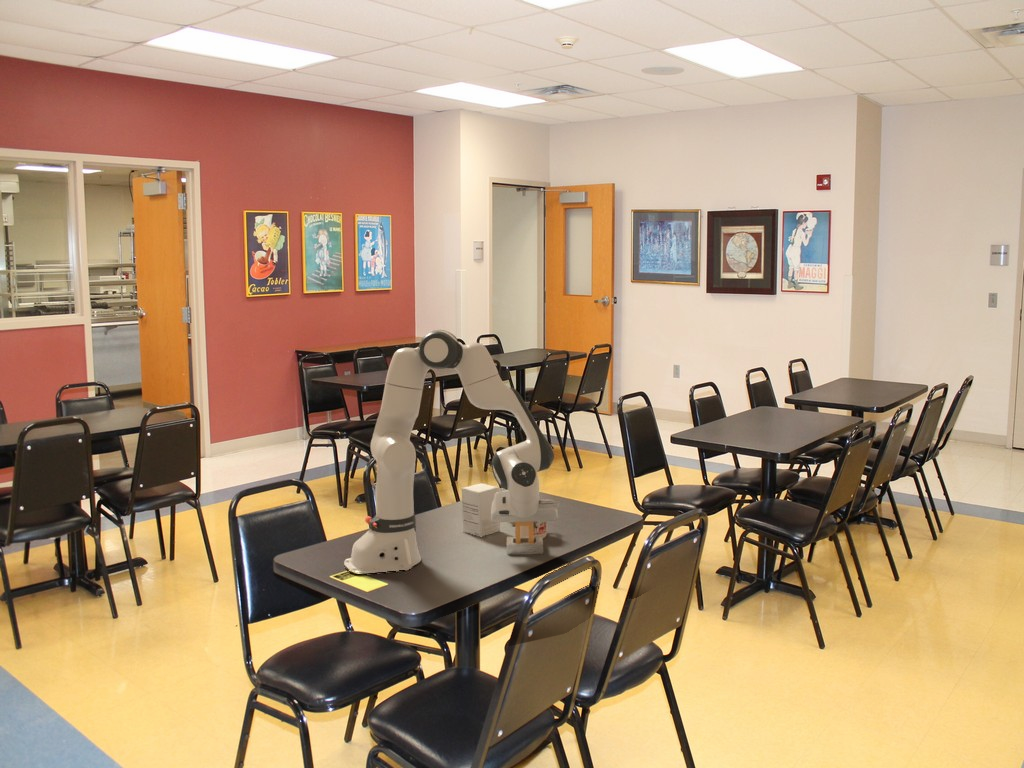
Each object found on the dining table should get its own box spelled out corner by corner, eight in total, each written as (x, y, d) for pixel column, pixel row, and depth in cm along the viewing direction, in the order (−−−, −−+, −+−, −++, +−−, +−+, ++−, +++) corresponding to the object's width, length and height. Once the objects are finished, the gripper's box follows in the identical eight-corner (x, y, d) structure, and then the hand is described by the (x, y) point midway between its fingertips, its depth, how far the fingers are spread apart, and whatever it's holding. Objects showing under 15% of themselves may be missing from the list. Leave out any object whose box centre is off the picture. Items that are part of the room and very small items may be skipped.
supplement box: (482, 526, 296) (481, 482, 294) (500, 531, 290) (499, 486, 288) (461, 532, 290) (460, 487, 288) (480, 537, 284) (479, 492, 282)
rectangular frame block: (543, 553, 266) (543, 544, 266) (506, 554, 266) (506, 544, 266) (542, 545, 274) (542, 536, 274) (507, 546, 274) (506, 536, 274)
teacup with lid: (534, 542, 278) (534, 506, 276) (513, 536, 284) (512, 501, 282) (558, 533, 287) (558, 498, 285) (537, 528, 293) (536, 493, 291)
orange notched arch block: (533, 545, 271) (533, 507, 270) (533, 548, 268) (533, 510, 267) (515, 545, 271) (515, 507, 270) (515, 548, 268) (515, 510, 267)
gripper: (559, 491, 261) (557, 514, 272) (489, 493, 261) (491, 516, 272) (559, 510, 257) (558, 533, 268) (489, 511, 257) (491, 534, 268)
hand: (524, 524), depth 270 cm, fingers closed on orange notched arch block, 5 cm apart
